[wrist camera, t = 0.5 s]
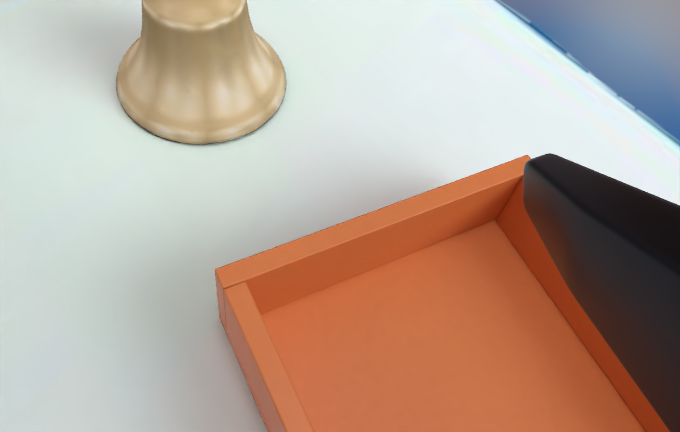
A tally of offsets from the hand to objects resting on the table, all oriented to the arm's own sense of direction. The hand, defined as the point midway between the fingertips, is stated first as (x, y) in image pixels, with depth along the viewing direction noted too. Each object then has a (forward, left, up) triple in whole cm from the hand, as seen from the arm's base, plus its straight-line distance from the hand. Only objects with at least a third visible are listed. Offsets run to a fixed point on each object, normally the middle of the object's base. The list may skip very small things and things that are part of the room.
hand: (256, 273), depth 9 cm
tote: (-2, -8, -15) cm, 17 cm away
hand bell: (+18, -5, -15) cm, 24 cm away
